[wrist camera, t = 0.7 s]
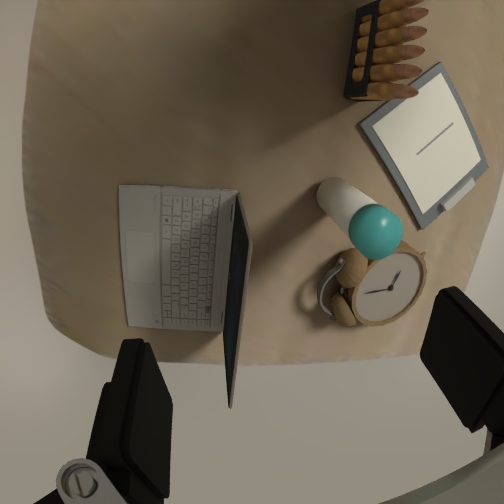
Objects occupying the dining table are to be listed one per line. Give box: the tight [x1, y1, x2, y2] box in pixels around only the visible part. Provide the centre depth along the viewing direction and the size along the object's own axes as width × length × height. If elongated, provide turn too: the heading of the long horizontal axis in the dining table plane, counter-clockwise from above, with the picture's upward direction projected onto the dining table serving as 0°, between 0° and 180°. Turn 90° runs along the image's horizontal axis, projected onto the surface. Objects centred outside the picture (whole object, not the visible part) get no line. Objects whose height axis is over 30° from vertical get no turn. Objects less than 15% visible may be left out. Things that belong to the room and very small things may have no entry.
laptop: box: [119, 185, 253, 409], centre depth 30 cm, size 18×12×13 cm
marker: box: [316, 177, 403, 260], centre depth 28 cm, size 4×4×12 cm
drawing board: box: [358, 62, 489, 230], centre depth 32 cm, size 14×16×1 cm
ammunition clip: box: [343, 0, 429, 102], centre depth 22 cm, size 11×2×12 cm, turn 172°
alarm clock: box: [317, 240, 427, 327], centre depth 38 cm, size 11×5×15 cm
